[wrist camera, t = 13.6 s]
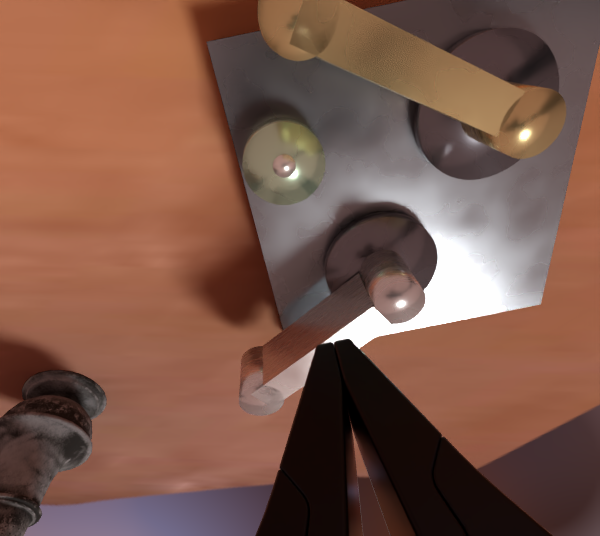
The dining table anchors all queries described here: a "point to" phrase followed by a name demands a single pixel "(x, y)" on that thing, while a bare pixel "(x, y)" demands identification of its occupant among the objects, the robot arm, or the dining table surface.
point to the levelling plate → (400, 161)
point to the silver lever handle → (346, 304)
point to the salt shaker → (43, 442)
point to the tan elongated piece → (436, 80)
